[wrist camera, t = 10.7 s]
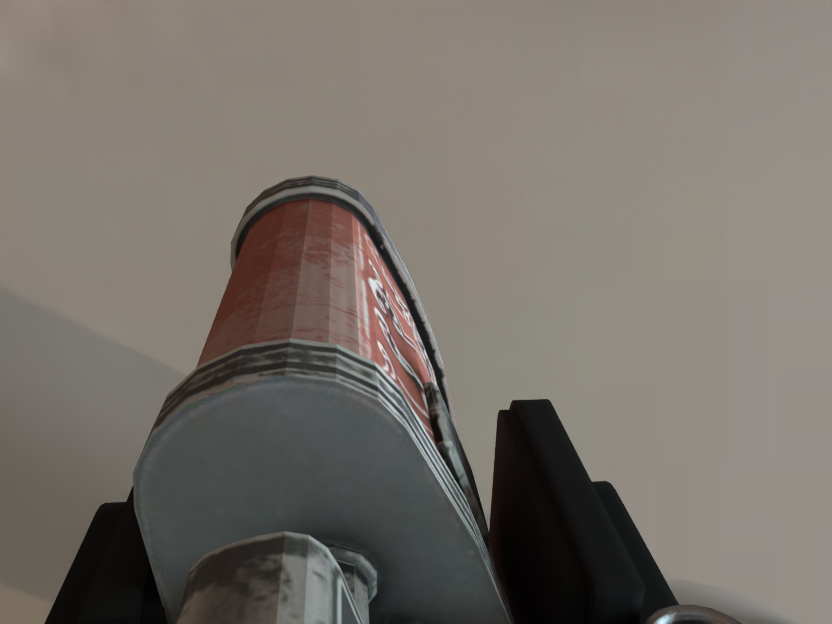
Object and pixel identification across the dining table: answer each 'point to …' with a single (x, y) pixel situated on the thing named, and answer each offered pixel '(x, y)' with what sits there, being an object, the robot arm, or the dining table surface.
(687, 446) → the dining table surface
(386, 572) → the lighter
